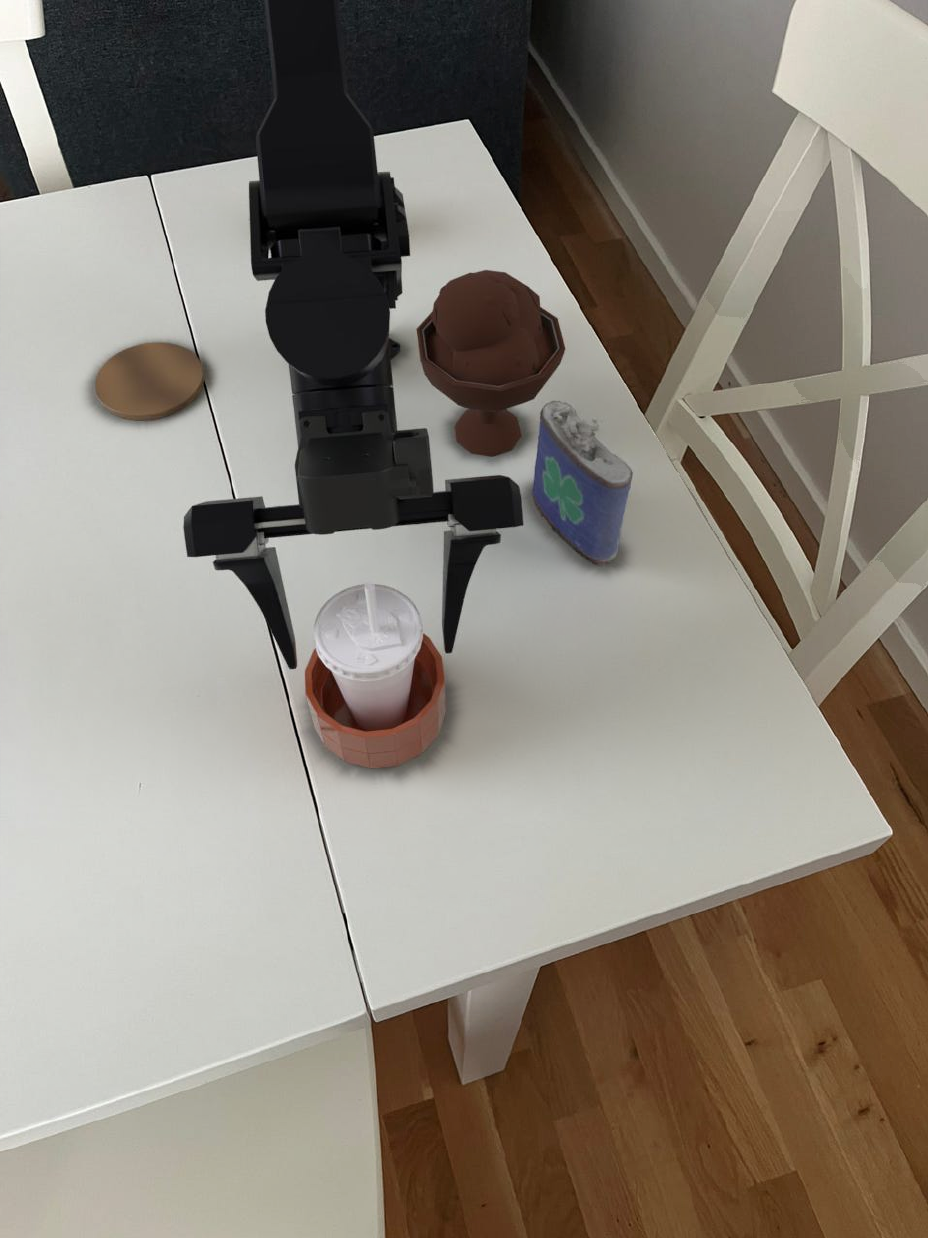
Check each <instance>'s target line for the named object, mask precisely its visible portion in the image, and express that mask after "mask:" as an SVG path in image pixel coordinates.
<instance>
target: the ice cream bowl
mask: <svg viewBox="0 0 928 1238" xmlns="http://www.w3.org/2000/svg"><path fill="white" fill-rule="evenodd" d="M432 306H433V307H432V311H431V312H430V313H429V314H428V315H427V316H426V317H425V319H424V320H423V321H422V322H421V323H420V324H419V325H418V327H417V328H416V338H417V344H418V352H419V359H420V364H421V367H422V371H423V373H424V376H425V377H426V379H427V380H428V382H429V383H430V384H431V385H432V387H434V388H435V389H437V390H438V391H439V392H440V393H442V395H444V396H446V397H447V398H448V399H449V400H451V401H452V402H453V403H454V404H456V405H457V406H459V407H462V408H464V409H466V410H465V411H464V412H463V413H462V415H461V416H460V417H459V418H458V419H457V421H456V422H455V425H454V433H455V439H456V443H457V444H458V445H460V446H461V447H462V448H463V449H465V450H466V451H467V452H469V453H470V454H473V455H478V456H479V455H480V456H486V457H496V456H498V455H502V454H504V453H508V452H510V451H512V450H513V449H514V448H515V446H516V445H517V444H518V443H519V441H520V440H521V438H523V437H522V430H521V425H520V421H519V418H518V417H517V416H516V415H515V414H514V413H512V412H511V411H509V410H508V409H511V408H513V407H517V406H519V405H523V404H525V403H527V402H530V401H533V400H535V399H536V397H537V396H538V395H539V394H540V392H541V391H542V389H543V388H544V387H545V385H546V384H547V382H548V381H549V380H550V379H551V377H552V376H553V375H554V373H555V371H557V369H558V368H559V366H560V365H561V363H562V360H563V357H564V354H565V352H566V345H565V341H564V338H563V334H562V329H561V325H560V323H559V317H557V316H555V315H554V314H552V313H550V312H549V311H548V310H546V309H545V308H543V307H542V306H541V297H540V295H539V294H538V293H537V292H536V291H534V290H533V289H532V288H531V287H529V286H528V285H526V284H525V283H523V282H522V281H520V280H519V279H517V278H515V277H513V276H512V275H511V274H509V273H507V272H505V271H497V270H490V269H483V270H480V271H476V272H471V271H470V272H468V273H465V274H463V275H460V276H458V277H455V278H453V279H450V280H449V281H448V282H447V283H446V284H445V285H443V286H442V287H441V288H440V290H439V293H438V296H437V298H436V299H435V301H434V302H433V305H432Z"/></svg>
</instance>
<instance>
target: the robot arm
mask: <svg viewBox="0 0 928 1238" xmlns="http://www.w3.org/2000/svg"><path fill="white" fill-rule="evenodd" d="M263 4H264V13H265V21H266V22H265V23H266V31H267V41H268V50H269V60H270V70H271V78H272V79H271V80H272V90H273V91H272V92H273V101H272V103H271V104H270V107H269V109H268V110H267V112H266V115H265V117H264V119H263V121H262V122H261V125H260V126H259V129H258V131H257V132H256V136H255V145H256V157H257V169H258V179H259V180H249V182H248V209H249V210H248V211H249V243H250V244H249V245H250V265H251V273H252V276H253V277H254V279H255V281H256V282H260V281H262V282H263V281H273V283H272V285H271V287H270V289H269V291H268V294H267V300H266V304H265V309H264V313H265V314H264V316H265V325H266V328H267V332H268V336H269V339H270V340H271V343H272V345H273V346H274V348H275V350H276V351H277V353H278V354H279V355H280V356H281V357H282V358H283V359H284V360H285V362H286V363H287V364H288V371H289V380H290V389H291V394H292V396H291V397H292V407H293V415H294V424H295V432H296V433H295V434H296V441H297V451H296V457H295V461H294V473H295V480H296V489H297V497H298V504H287V505H277V506H266V504H265V501H264V497H263V495H261V496H251V497H250V496H249V497H240V498H239V497H238V498H230V499H228V498H227V499H219V500H218V499H217V500H208V501H207V500H206V501H202V502H200V503H196V504H194V505H191V507H190V508H189V509H188V510H187V512H186V513H185V515H184V516H183V527H182V529H183V537H184V543H185V550H186V551H185V552H186V557H187V558H202V557H211V556H212V557H213V556H215V559H214V560H213V561H212V565H213V568H214V570H215V571H231V572H232V573H233V574H234V575H235V576H236V577H237V578H238V579H239V581H241V583H242V584H243V585H244V586H245V588H246V589H247V591H248V592H249V595H251V597H252V599H253V600H254V601H255V603H256V605H257V606H258V608H259V610H260V612H261V614H262V615H263V617H264V619H265V621H266V624H267V625H268V629H269V630H270V632H271V634H272V637H273V638H274V640H275V642H276V644H277V647H278V649H279V651H280V653H281V655H282V657H283V659H284V661H285V663H286V665H287V668H288V669H289V670H296V669H297V666H298V656H297V655H298V654H297V645H296V643H297V642H296V636H295V631H294V628H293V622H292V619H291V614H290V609H289V603H288V600H287V595H286V591H285V585H284V581H283V576H282V571H281V567H280V562H279V558H278V553H277V549H276V547H275V546H271V547H270V546H269V547H267V546H266V545H267V543H269V539H273V538H284V537H285V538H286V537H294V536H295V537H296V536H307V535H319V536H320V535H321V536H322V535H323V536H324V535H333V534H334V533H337V532H348V531H359V530H370V529H371V530H373V531H376V530H377V531H378V530H385V529H389V528H393V527H401V526H412V525H414V526H415V525H424V524H435V523H444V522H445V523H446V525H447V527H448V528H450V530H444V531H443V549H442V550H443V551H442V552H443V553H442V554H443V555H442V556H443V557H442V563H443V564H442V597H441V598H442V600H441V601H442V602H441V631H442V640H443V641H442V642H443V650H444V653H445V654H452V653H453V650H454V645H455V642H456V638H457V632H458V628H459V624H460V620H461V615H462V610H463V607H464V602H465V598H466V595H467V594H466V593H467V589H468V586H469V583H470V580H471V578H472V575H473V572H474V570H475V567H476V564H477V563H478V560H479V558H480V556H481V554H482V552H483V550H484V548H485V547H486V546H490V545H491V546H492V545H498V544H500V543H501V541H502V534H501V533H500V532H498V531H497V530H499V529H509V528H518V527H521V526H522V527H523V526H524V515H523V513H524V512H523V501H522V500H523V499H522V492H521V489H520V485H519V484H518V483H516V482H515V481H514V480H513V479H512V478H511V477H509V476H506V475H501V474H495V475H494V474H493V475H484V476H472V477H461V478H449V479H444V490H443V491H442V490H441V491H434V479H433V466H432V464H433V463H432V454H431V444H430V436H429V432H428V428H427V427H424V428H421V427H420V428H412V429H400V430H398V423H397V422H398V421H397V412H396V402H395V391H394V390H395V389H394V387H393V386H394V382H393V381H394V379H393V371H392V370H393V369H392V362H391V361H392V359H394V358H395V356H397V355H398V354H399V353H401V351H402V347H401V344H400V343H399V342H397V341H395V340H394V339H392V338H389V337H390V322H391V310H392V309H397V302H396V301H398V300H399V297H400V296H401V295H402V294H403V275H402V272H403V271H402V269H403V262H402V261H403V260H402V258H403V257H411V245H410V231H409V226H408V219H407V214H406V207H405V201H404V194H403V192H401V190H400V189H398V188H397V187H396V186H395V178H394V176H393V177H392V176H391V172H390V171H378V162H377V153H376V141H375V135H374V134H375V133H374V128H373V127H372V125H371V124H370V123H369V121H368V119H367V118H366V117H365V116H364V114H363V113H362V111H361V110H360V108H359V107H358V106H357V105H356V104H355V102H354V101H353V99H352V98H351V97H350V95H349V91H348V83H347V72H346V62H345V52H344V43H343V32H342V22H341V12H340V2H339V0H263ZM269 252H270V253H269ZM269 256H270V257H269Z"/></svg>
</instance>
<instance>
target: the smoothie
mask: <svg viewBox="0 0 928 1238" xmlns="http://www.w3.org/2000/svg"><path fill="white" fill-rule="evenodd" d="M423 633H424V631H423V624H422V619H421V615H420V611H419V610H418V607H417V606H416V604H415V603H414V601H412V600H411V598H410V597H408V596H407V595H406V594H405V593H403V592H402V591H400V590H399V589H396V588H394V587H391V586H388V585H385V584H376V583H373V582H371V581H368V582H365V583H364V584H356V585H353V586H349V587H347V588H345V589H342V590H340V591H338V592H337V593H335V594H334V595H333V596H331V597H330V598H328V599H327V601H326V602H325V603H324V604H323V605H322V607H321V608H320V609H319V611H318V613H317V615H316V616H315V620H314V625H313V638H314V648H316V650H317V653H318V656H319V658H320V659H321V660H322V662H323V663H324V664H325V666H326V667H327V668H329V669H330V670H331V672H332V673H333V676H334V678H335V680H336V682H337V684H338V686H339V688H340V690H341V693H342V695H343V697H344V699H345V701H346V703H347V705H348V708H349V710H350V712H351V714H352V716H353V718H354V720H355V722H356V723H357V724H358V725H359V726H360V727H361V728H363V729H364V730H366V731H378V730H387V729H393V728H395V727H397V726H398V725H400V724H401V722H402V721H403V720H404V718H405V716H406V713H407V708H408V701H409V694H410V687H411V680H412V674H413V667H414V660H415V657H416V655H417V653H418V652H419V650H420V648H421V643H422V639H423Z"/></svg>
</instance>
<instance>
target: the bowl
mask: <svg viewBox="0 0 928 1238" xmlns="http://www.w3.org/2000/svg"><path fill="white" fill-rule="evenodd" d="M445 676H446V675H445V669H444V661H443V657H442V654H441V653H440V652H439V650H438V648H437V647H436V645H435V644H434V643H433V641H432V639H431V637H429V636H428V635H427V634H425V633H424V632H423V639H422V643H421V648H420V650H419V652H418V653H417V655H416V657H415V660H414V667H413V674H412V680H411V687H410V694H409V701H408V708H407V713H406V716H405V718H404V720H403V721H402V722H401V724H400V725H398V726H397V727H395V728H393V729H387V730H378V731H366V730H364V729H363V728H361V727H360V726H359V725H358V724H357V723H356V722H355V720H354V718H353V716H352V714H351V712H350V710H349V708H348V705H347V703H346V701H345V699H344V697H343V695H342V693H341V690H340V688H339V686H338V684H337V682H336V680H335V678H334V676H333V673H332V672H331V670H330V669H329V668H327V667H326V666H325V664H324V663H323V662H322V660H321V659H320V658H319V656H318V653H317V650H316V647H314V649H313V651H312V654H311V655H310V658H309V660H308V663H307V665H306V667H305V670H304V687H305V689H304V690H305V698H306V702H307V704H308V709H309V712H310V716H311V719H312V723H313V727H314V729H315V730H316V733H317V734H318V736H319V739H320V741H321V743H322V744H323V746H325V748H326V749H327V750H328V751H330V752H331V753H332V754H334V755H335V756H336V757H338V758H340V759H341V760H342V761H343V762H346V763H349V764H352V765H356V766H360V767H365V768H368V769H380V768H387V767H397V766H400V765H402V764H404V763H406V762H408V761H410V760H412V759H413V758H415V757H417V756H419V755H422V754H423V753H424V752H425V751H426V749H428V748H429V746H430V745H431V744H432V743H433V741H435V739H436V738H438V736H439V734H440V732H441V729H442V725H443V722H444V719H445V716H446V712H447V700H446V677H445Z"/></svg>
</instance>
